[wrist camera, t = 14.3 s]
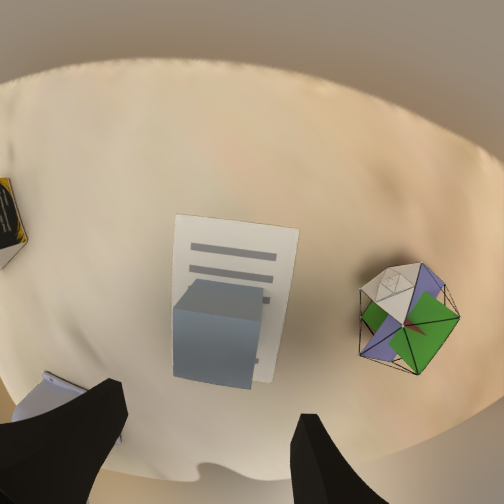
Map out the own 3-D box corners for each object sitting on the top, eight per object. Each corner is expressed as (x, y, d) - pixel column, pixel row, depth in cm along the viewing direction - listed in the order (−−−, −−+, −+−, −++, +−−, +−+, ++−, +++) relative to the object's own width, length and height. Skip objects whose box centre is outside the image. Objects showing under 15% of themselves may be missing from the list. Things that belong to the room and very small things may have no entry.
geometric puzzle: (466, 300, 16) (490, 306, 9) (415, 372, 17) (410, 413, 10) (396, 251, 19) (383, 231, 13) (350, 322, 21) (315, 338, 14)
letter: (172, 366, 20) (171, 366, 20) (176, 213, 18) (175, 213, 17) (271, 382, 20) (271, 382, 20) (299, 228, 17) (299, 229, 17)
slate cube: (193, 336, 19) (173, 376, 14) (196, 278, 18) (173, 307, 13) (254, 345, 19) (250, 389, 14) (263, 287, 18) (261, 321, 13)
